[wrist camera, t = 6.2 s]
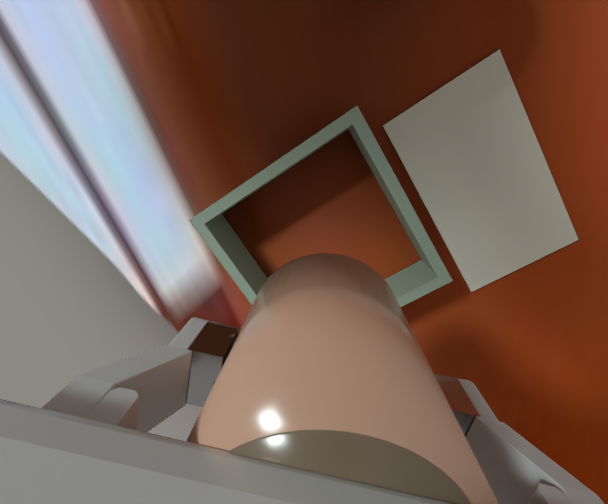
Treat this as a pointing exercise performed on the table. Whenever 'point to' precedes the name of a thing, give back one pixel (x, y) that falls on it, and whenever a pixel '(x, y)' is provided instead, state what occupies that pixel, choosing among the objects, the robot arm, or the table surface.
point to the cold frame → (211, 220)
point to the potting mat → (482, 174)
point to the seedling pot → (339, 387)
